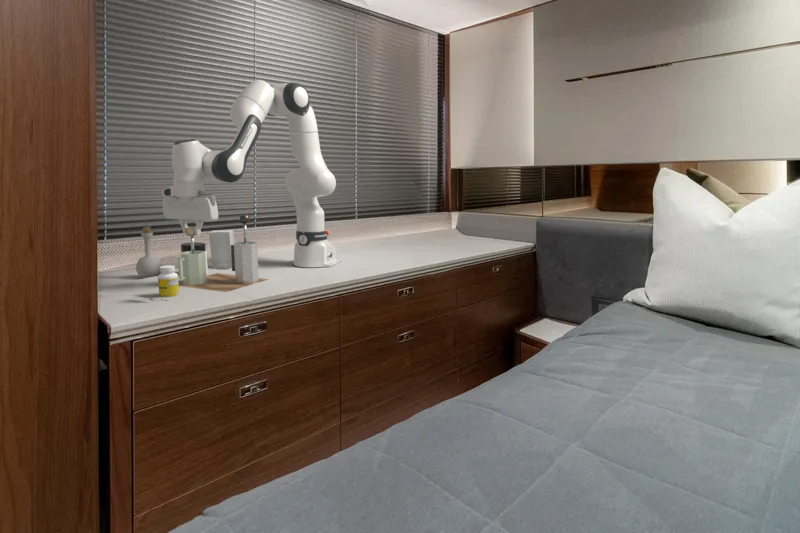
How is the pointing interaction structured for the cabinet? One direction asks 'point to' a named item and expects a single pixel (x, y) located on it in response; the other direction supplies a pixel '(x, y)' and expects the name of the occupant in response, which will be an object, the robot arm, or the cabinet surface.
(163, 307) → the cabinet surface
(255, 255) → the steel press
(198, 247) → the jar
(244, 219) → the steel plunger
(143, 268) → the potion bottle
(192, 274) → the pale green octagonal mug
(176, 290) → the supplement bottle
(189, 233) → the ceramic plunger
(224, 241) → the skincare box
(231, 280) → the serving board
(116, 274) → the cabinet surface
